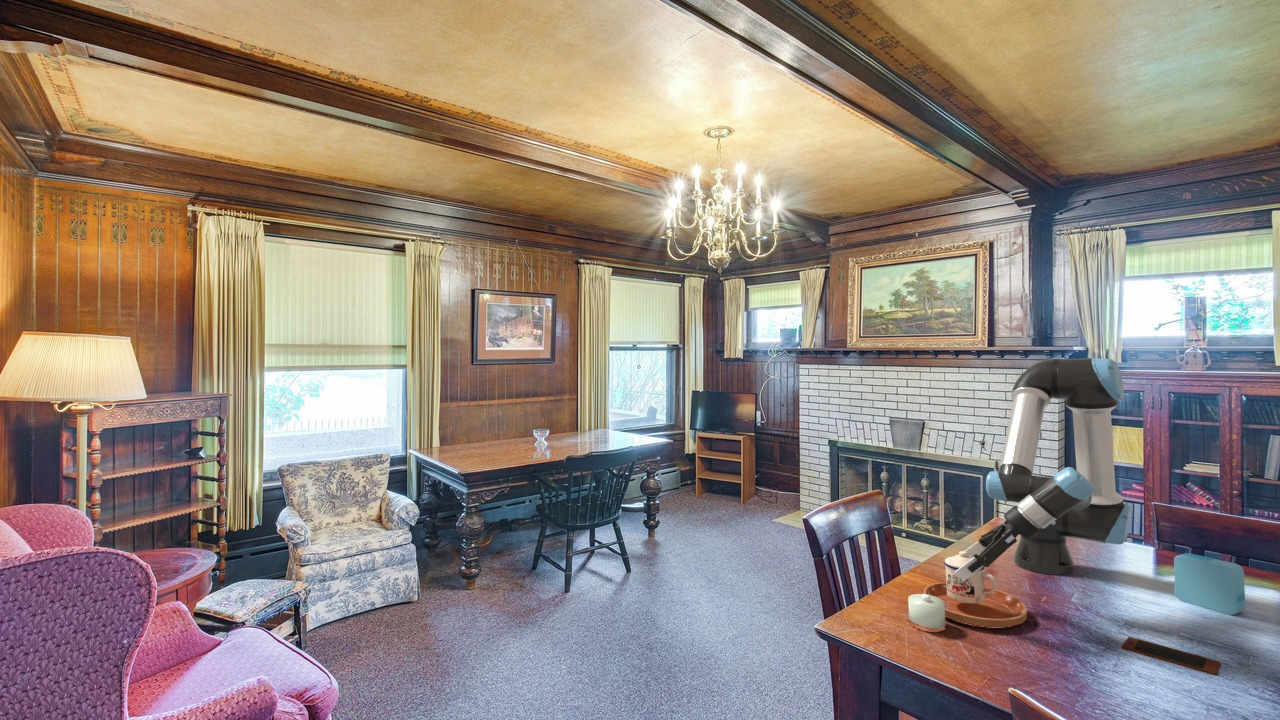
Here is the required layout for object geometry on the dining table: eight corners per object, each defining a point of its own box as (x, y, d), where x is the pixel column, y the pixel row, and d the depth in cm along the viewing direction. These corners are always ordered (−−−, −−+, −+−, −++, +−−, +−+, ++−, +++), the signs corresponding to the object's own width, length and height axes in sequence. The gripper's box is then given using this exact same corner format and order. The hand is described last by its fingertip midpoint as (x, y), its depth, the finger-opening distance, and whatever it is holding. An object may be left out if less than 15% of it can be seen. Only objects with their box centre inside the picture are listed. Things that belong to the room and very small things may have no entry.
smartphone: (1128, 635, 130) (1221, 660, 119) (1128, 639, 130) (1221, 665, 118) (1120, 645, 126) (1216, 673, 114) (1120, 650, 126) (1216, 678, 114)
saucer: (1018, 602, 152) (1017, 588, 152) (1036, 641, 131) (1035, 625, 131) (922, 590, 161) (922, 577, 161) (925, 624, 140) (925, 609, 140)
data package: (1245, 613, 140) (1244, 565, 141) (1237, 617, 139) (1235, 568, 139) (1183, 596, 151) (1182, 551, 151) (1174, 599, 150) (1173, 553, 150)
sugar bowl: (911, 615, 145) (910, 586, 145) (946, 622, 140) (946, 593, 140) (906, 627, 138) (905, 598, 138) (943, 635, 134) (942, 605, 134)
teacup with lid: (940, 597, 147) (937, 552, 148) (955, 588, 153) (952, 544, 153) (991, 611, 138) (988, 562, 138) (1005, 600, 144) (1002, 554, 144)
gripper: (1045, 544, 127) (970, 597, 135) (1040, 517, 148) (975, 564, 156) (1016, 517, 130) (944, 571, 138) (1015, 494, 151) (952, 542, 159)
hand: (960, 568), depth 147 cm, fingers open, 13 cm apart
